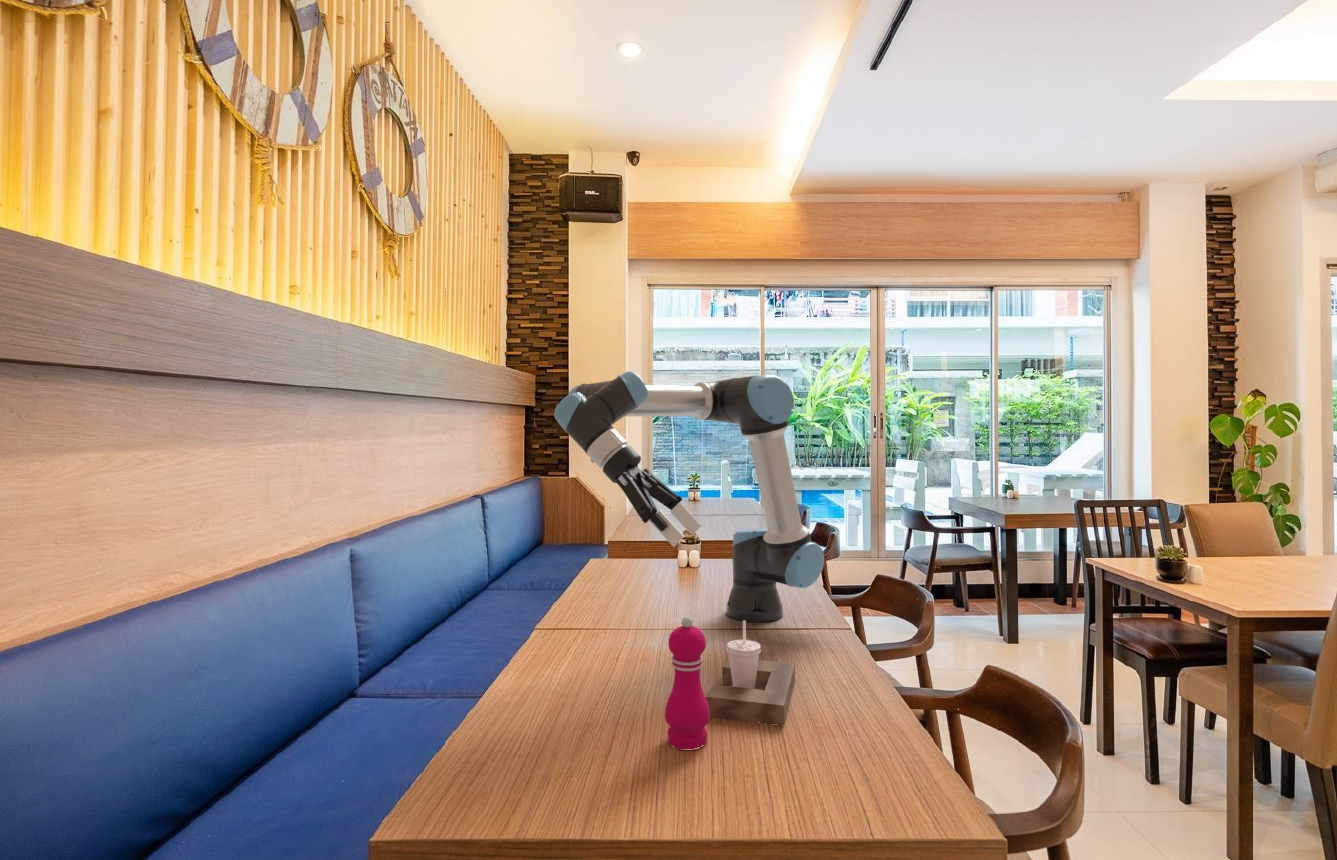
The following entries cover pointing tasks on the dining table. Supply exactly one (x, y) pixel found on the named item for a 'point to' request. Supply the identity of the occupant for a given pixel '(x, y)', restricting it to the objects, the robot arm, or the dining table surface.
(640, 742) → the dining table surface
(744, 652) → the smoothie
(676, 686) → the pepper mill
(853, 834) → the dining table surface
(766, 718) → the notched board
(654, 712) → the dining table surface
